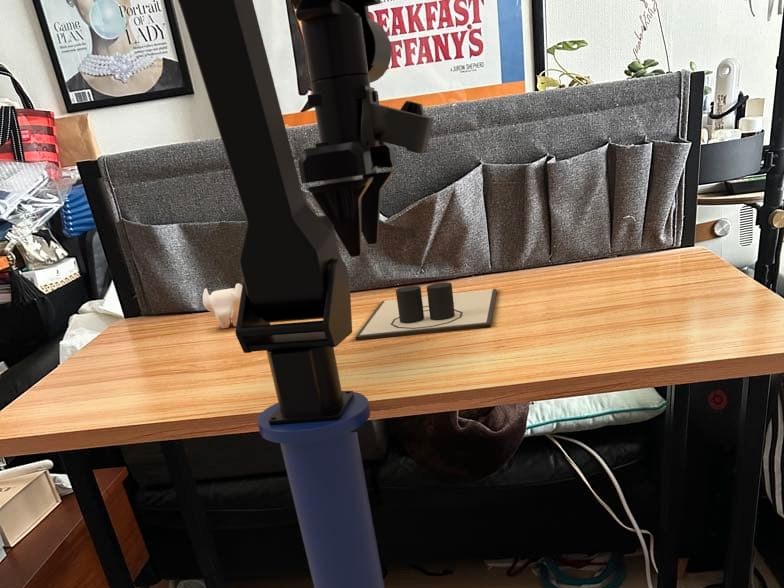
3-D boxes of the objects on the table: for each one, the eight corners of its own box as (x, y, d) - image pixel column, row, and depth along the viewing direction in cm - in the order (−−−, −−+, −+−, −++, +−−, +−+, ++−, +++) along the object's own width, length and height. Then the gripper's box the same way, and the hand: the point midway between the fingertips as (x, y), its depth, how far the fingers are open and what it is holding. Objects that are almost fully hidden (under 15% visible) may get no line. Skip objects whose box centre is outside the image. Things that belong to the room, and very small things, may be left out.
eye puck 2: (453, 318, 92) (450, 286, 90) (428, 321, 92) (425, 289, 90) (455, 312, 94) (452, 281, 92) (431, 315, 95) (428, 283, 93)
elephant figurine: (205, 336, 105) (193, 294, 102) (215, 323, 112) (204, 283, 109) (250, 329, 105) (240, 286, 102) (257, 316, 112) (248, 277, 109)
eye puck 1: (422, 322, 92) (418, 289, 90) (398, 324, 93) (393, 292, 91) (425, 315, 95) (421, 284, 93) (401, 318, 96) (397, 287, 94)
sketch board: (490, 327, 88) (490, 322, 87) (355, 340, 91) (354, 335, 91) (496, 291, 105) (496, 287, 104) (382, 303, 108) (382, 299, 108)
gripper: (407, 57, 61) (428, 254, 68) (432, 72, 77) (447, 230, 84) (281, 79, 63) (315, 267, 70) (331, 89, 79) (355, 241, 86)
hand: (364, 249), depth 77 cm, fingers open, 9 cm apart
